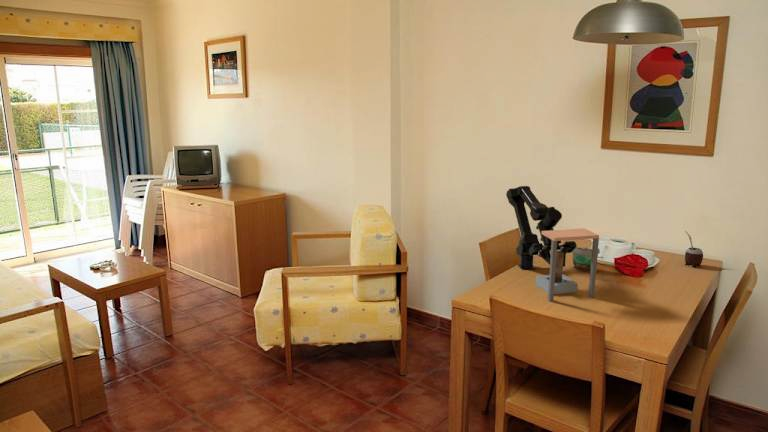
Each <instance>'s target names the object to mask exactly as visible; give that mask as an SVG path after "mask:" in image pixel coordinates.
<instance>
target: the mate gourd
mask: <svg viewBox="0 0 768 432" xmlns="http://www.w3.org/2000/svg"><path fill="white" fill-rule="evenodd" d="M684 233H686V235H687V236H688V239H689V242H690V247H688V248H687V249H686V251H685V253H684V262H685V263H684V265H685V266H687V265H692V266H691V268H692V267H694V268H695V267H696V266H702V265H701V264H703V258H704V252H703V250H702V249H701V248H698V247H694V245H693V242H692V241H693V240H692V237H691V235H690V234H689V233H688V232H687V231H686V230H685V231H684Z"/></svg>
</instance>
